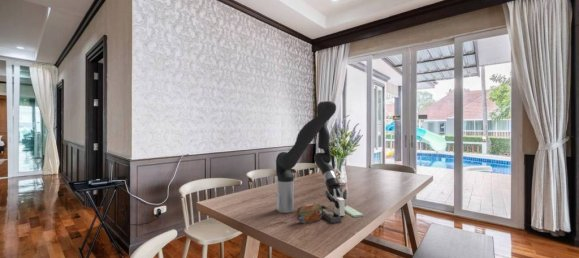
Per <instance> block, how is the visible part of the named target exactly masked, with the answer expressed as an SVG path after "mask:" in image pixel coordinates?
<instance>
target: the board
mask: <svg viewBox="0 0 579 258" xmlns="http://www.w3.org/2000/svg"><path fill="white" fill-rule="evenodd" d="M345 214H348V215H350V216H351V217H353V218H358V217H364V214H363V213H362V212H359V211H358V210H356V209H355V208H353V207H351V206H349V205H346V206H345Z"/></svg>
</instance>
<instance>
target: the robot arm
mask: <svg viewBox="0 0 579 258" xmlns="http://www.w3.org/2000/svg"><path fill="white" fill-rule="evenodd" d="M336 111H337V105H336V103H335V102H334V101H331V100H330V101H329V100H327V101H319V102H318V104H317V106H316V116H315V117H314V118H312V119H310V120H309V121H308V122H307V123H305V124H304V125H303V126H302V128H301V129H300V130H299V132H298V134H297V136H296V140H295V143H294V145H293V146H292V147H291V148H290V149H289V150H288V152H287V151H281V152H279V154H277V156H276V159H275V173H276V176H277V193H276V211H277V212H278V213H280V214H281V213H282V214H288V213H292V212H294V205H295V204H294V202H295V201H294V200H295V199H294V196H295V195H294V194H295V193H294V192H295V191H294V189H295V188H294V186H295V185H294V183H295V181H294V180H295V178H294V177H295V176H294V174H293V173H292V169H293V168H294V167H295V166H296V165H297V163H298V161H299V160H300V158H301V157H302V155H303V153H304V151H306V150H307V148H308V146H309V145H310V144H311V143H312V141H314V138H315V137H316V136H317V135H318V140H317V148H318V149H319V150H323V152H317V153H315V154H314V157H313V159H314V163H315V165H316V166H317V167H318V168H319V170H320V171H321V174H322V177H323V180H324V183H325V186H326V188H327V190H326V191H325V192H324V196H325V197H326V198H327V199H328V201H329V202H330V203H334V204H335V207H336V208H337V209H339V204H338V201H337V198H336V197H341V198H343V199H345V200H347V192H348V191H347V189H342V188H341V184H340V181H339V179H338V177H337V175H336V173H335V170H334V169H333V166H332V164H331V161H332V155H331V150H330V139H331V138H330V133H329V129H328V126H327V122H328V121H329V120H330V119H331V118H332V117H333V116H334V115H335V113H336ZM334 204H333V205H334ZM345 206H347V205H346V203H345Z"/></svg>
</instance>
